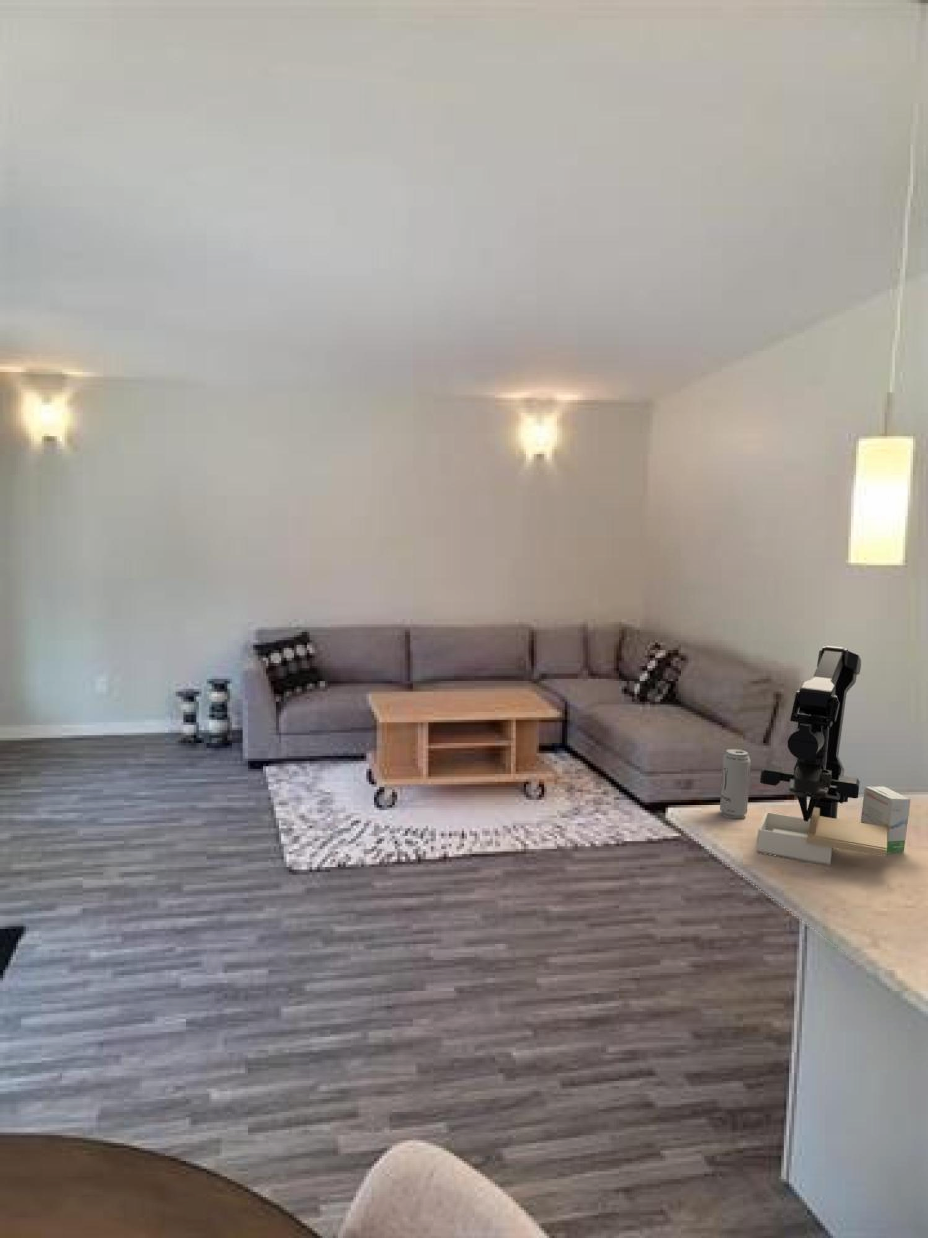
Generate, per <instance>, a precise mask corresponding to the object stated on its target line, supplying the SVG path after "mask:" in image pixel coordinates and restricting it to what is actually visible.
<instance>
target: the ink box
mask: <svg viewBox="0 0 928 1238" xmlns="http://www.w3.org/2000/svg"><path fill="white" fill-rule="evenodd" d="M910 805H911V798H908V797H906V796H905V795H902V794H900V793H898V792H897V791H894V790H892V789H890V788H888V787H886V786H883V785H882V786H865V787H864V792H863V799H862V807H861V814H860V815H861V816H860V823H865V824H872V825H878V826H884V827H887V854H893V853H894V854H895V853H904V852H905V844H906V840H907V839H906V837H907V832H908V831H907V829H908V822H909V816H910V814H909V813H910Z"/></svg>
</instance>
